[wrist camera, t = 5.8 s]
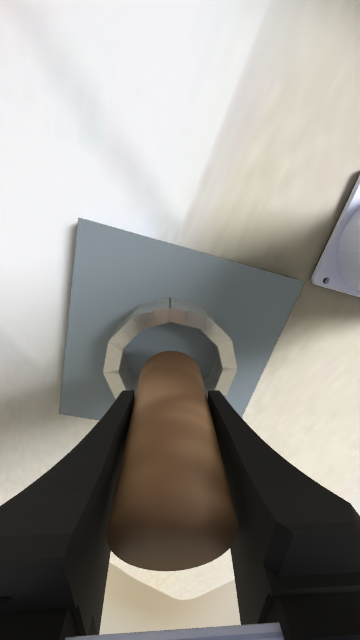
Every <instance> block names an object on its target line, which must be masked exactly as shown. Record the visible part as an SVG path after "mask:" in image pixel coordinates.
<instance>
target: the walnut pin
mask: <svg viewBox="0 0 360 640" xmlns="http://www.w3.org/2000/svg"><path fill="white" fill-rule="evenodd" d="M238 529H239V526H238V521H237V516H236V512H235V508H234V504H233V500H232V496H231V492H230V488H229V484H228V480H227V476H226V472H225V468H224V464H223V460H222V456H221V452H220V448H219V444H218V440H217V436H216V432H215V428H214V424H213V419H212V415H211V411H210V407H209V403H208V399H207V395H206V391H205V387H204V383H203V379H202V375H201V371H200V368H199V366H198V364H197V363H196V361H195V360H194V359H193V358H192V357H190V356H189V355H187V354H185V353H182V352H179V351H164V352H160V353H157V354H155V355H153V356H152V357H150V358H149V359H148V360H147V361H146V362H145V363H144V365H143V367H142V369H141V372H140V376H139V381H138V386H137V391H136V395H135V400H134V405H133V409H132V414H131V419H130V423H129V428H128V433H127V438H126V442H125V447H124V452H123V456H122V461H121V466H120V471H119V475H118V480H117V485H116V489H115V494H114V499H113V503H112V508H111V513H110V518H109V522H108V527H107V533H106V539H107V543H108V546H109V548H110V549H111V551H112V552H113V553H114V554H115V555H116V556H117V557H118V558H120V559H121V560H123V561H124V562H126V563H128V564H130V565H133V566H136V567H139V568H143V569H148V570H154V571H177V570H185V569H190V568H194V567H198V566H201V565H204V564H206V563H208V562H211V561H213V560H214V559H216V558H218V557H219V556H221V555H222V554H224V553H225V552H226V551H227V550H228V549H229V548H230V547H231V546H232V545H233V543H234V542H235V540H236V538H237V535H238Z"/></svg>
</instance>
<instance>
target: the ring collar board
mask: <svg viewBox="0 0 360 640" xmlns="http://www.w3.org/2000/svg"><path fill="white" fill-rule="evenodd" d="M303 284H304V281H300V280H297V279H294V278H290V277H287V276H283V275H279V274H276V273H272V272H269V271H265V270H262V269H258V268H255V267H251V266H248V265H244V264H241V263H237V262H234V261H230V260H227V259H223V258H220V257H216V256H213V255H209V254H205V253H202V252H198V251H195V250H191V249H188V248H184V247H181V246H177V245H174V244H170V243H167V242H163V241H160V240H156V239H153V238H149V237H146V236H142V235H139V234H135V233H131V232H128V231H124V230H121V229H117V228H114V227H110V226H107V225H103V224H100V223H96V222H93V221H89V220H86V219H82V218H78V226H77V236H76V246H75V256H74V266H73V276H72V287H71V297H70V307H69V317H68V327H67V337H66V347H65V358H64V368H63V378H62V388H61V398H60V408H59V414H64V415H70V416H76V417H83V418H89V419H95V420H100V419H101V418H102V417H103V416H104V414H105V413H106V412H107V411H108V409H109V408H110V407H111V405H112V404H113V403H114V401H115V400H116V399H117V397H118V396H119V394H120V393H121V392H122V391H123V390H134V397H135V395H136V391H137V386H138V381H139V376H140V372H141V369H142V367H143V365H144V363H145V362H146V361H147V360H148V359H149V358H150V357H152V356H153V355H155V354H157V353H160V352H164V351H179V352H182V353H185V354H187V355H189V356H190V357H192V358H193V359H194V360H195V361H196V363H197V364H198V366H199V368H200V371H201V375H202V379H203V383H204V387H205V391H206V395H207V399H208V390H219V391H220V392H221V393H222V394H223V396H224V397H225V398H226V399H227V401H228V402H229V403H230V405H231V406H232V407H233V408H234V410H235V411H236V412H237V413H238V414H239V415H240V417H241V418H242V416H243V414H244V412H245V409H246V407H247V405H248V403H249V401H250V399H251V396H252V394H253V392H254V390H255V388H256V386H257V384H258V381H259V379H260V377H261V375H262V373H263V371H264V368H265V366H266V364H267V362H268V360H269V358H270V356H271V353H272V351H273V349H274V347H275V345H276V343H277V340H278V338H279V336H280V334H281V332H282V330H283V328H284V325H285V323H286V321H287V319H288V317H289V315H290V312H291V310H292V308H293V306H294V304H295V302H296V300H297V297H298V295H299V293H300V291H301V289H302V287H303Z"/></svg>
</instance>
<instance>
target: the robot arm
mask: <svg viewBox="0 0 360 640" xmlns="http://www.w3.org/2000/svg"><path fill="white" fill-rule="evenodd" d="M324 278H326V281H325V282H324V283H323V279H324ZM311 282H312V283H313V284H315V285H318V286H321V287H325V288H328V289H332V290H336V291H339V292H343V293H346V294H350V295H353V296H357V297H360V176H359V178H358V180H357V182H356V184H355V186H354V188H353V190H352V192H351V195H350V197H349V199H348V201H347V203H346V205H345V207H344V209H343V212H342V214H341V216H340V218H339V220H338V222H337V224H336V226H335V229H334V231H333V233H332V235H331V237H330V239H329V241H328V243H327V245H326V248H325V250H324V252H323V254H322V256H321V258H320V260H319V262H318V265H317V267H316V269H315V271H314V273H313V275H312V278H311ZM134 400H135V397H134V390H123V391H122V392H121V393H120V394H119V396H118V397H117V399H116V400H115V401H114V403H113V404H112V405H111V407H110V408H109V409H108V411H107V412H106V413H105V414H104V416H103V417H102V418H101V419H100V421H99V422H98V423H97V424H96V425H95V426H94V428H93V429H92V430H91V431H90V432H89V433H88V434H87V435H86V436H85V437H84V438H83V439H82V441H81V442H80V443H79V444H78V445H77V446H75V447H74V448H73V449H72V450H71V451H70V452H69V453H68V454H67V455H66V456H65V457H64V458H63V459H61V460H60V461H59V462H58V463H57V464H56V465H55V466H53V467H52V468H51V469H50V470H49V471H47V472H46V473H45V474H44V475H42V476H41V477H40V478H39V479H37V480H36V481H35V482H33V483H32V484H31V485H30V486H28V487H27V488H26V489H24V490H23V491H21V492H20V493H19V494H17V495H16V496H14V497H13V498H11V499H10V500H9V501H7V502H6V503H4V504H3V505H1V506H0V640H360V516H359V514H358V513H357V512H356V510H355V509H354V508H353V506H352V505H351V504H350V503H349V502H347V501H345V500H344V499H342V498H341V497H339V496H337V495H336V494H334V493H332V492H331V491H329V490H328V489H326V488H324V487H323V486H321V485H320V484H318V483H317V482H315V481H314V480H312V479H311V478H310V477H308V476H307V475H305V474H304V473H302V472H301V471H300V470H298V469H297V468H296V467H294V466H293V465H292V464H290V463H289V462H288V461H287V460H285V459H284V458H283V457H282V456H280V455H279V454H278V453H277V452H276V451H274V450H273V449H272V448H271V447H270V446H269V445H268V444H267V443H265V442H264V441H263V440H262V439H261V438H260V437H259V436H258V435H257V434H256V433H255V432H254V431H253V430H252V429H251V428H250V427H249V426H248V425H247V423H246V422H245V421H244V420H243V419H242V418H241V417H240V415H239V414H238V413H237V412H236V411H235V410H234V408H233V407H232V406H231V405H230V403H229V402H228V401H227V399H226V398H225V397H224V396H223V394H222V393H221V392H220V391H219V390H208V403H209V407H210V411H211V415H212V419H213V424H214V428H215V432H216V436H217V440H218V444H219V448H220V452H221V456H222V460H223V464H224V468H225V472H226V476H227V480H228V484H229V488H230V492H231V496H232V500H233V504H234V508H235V512H236V516H237V521H238V526H239V529H238V535H237V538H236V540H235V542H234V543H233V545H232V546H231V547H230V549H231V555H232V562H233V569H234V576H235V583H236V590H237V598H238V606H239V613H240V621H241V625H235V626H221V627H206V628H192V629H177V630H163V631H149V632H134V633H120V634H105V635H99V631H100V623H101V616H102V608H103V601H104V594H105V586H106V579H107V572H108V565H109V559H110V552H111V549H110V548H109V546H108V543H107V539H106V533H107V527H108V522H109V518H110V513H111V508H112V503H113V499H114V494H115V489H116V485H117V480H118V475H119V471H120V466H121V461H122V456H123V452H124V447H125V442H126V438H127V433H128V428H129V423H130V419H131V414H132V409H133V405H134Z"/></svg>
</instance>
